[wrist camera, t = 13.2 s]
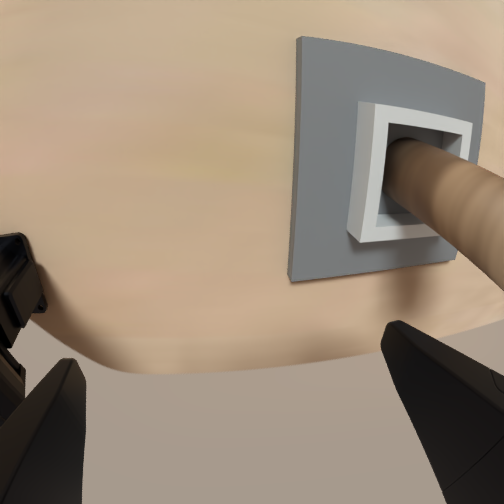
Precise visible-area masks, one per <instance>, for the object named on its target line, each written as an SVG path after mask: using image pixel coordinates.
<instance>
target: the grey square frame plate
mask: <svg viewBox="0 0 504 504" xmlns="http://www.w3.org/2000/svg"><path fill="white" fill-rule="evenodd" d="M484 100H485V83H484V82H482V81H480V80H477V79H475V78H472V77H469V76H467V75H464V74H462V73H459V72H456V71H453V70H451V69H448V68H445V67H442V66H439V65H436V64H433V63H429V62H426V61H423V60H420V59H416V58H413V57H409V56H405V55H402V54H398V53H394V52H390V51H386V50H381V49H377V48H372V47H368V46H363V45H358V44H352V43H347V42H341V41H335V40H328V39H321V38H313V37H305V36H301V37H299V38H297V39H296V106H295V139H294V165H293V188H292V208H291V226H290V242H289V258H288V273H287V274H288V276H289V278H290V280H291V282H294V281H302V280H311V279H319V278H327V277H335V276H343V275H351V274H359V273H366V272H374V271H381V270H388V269H395V268H403V267H409V266H416V265H423V264H430V263H436V262H443V261H449V260H455V258H456V255H457V251H458V250H457V249H456V248H455V247H453V246H452V245H451V244H450V243H449V242H447V241H446V240H445V239H444V238H442V237H441V236H440V235H439V234H437V233H436V232H435V231H434V230H432V229H431V228H430V227H429V226H427V225H426V224H425V223H423V222H422V221H421V220H420V219H418V218H417V217H416V216H414V215H413V214H412V213H410V212H409V211H408V210H406V209H405V208H403V207H402V206H401V205H399V204H398V203H397V202H395V201H394V200H392V199H391V198H390V197H388V196H387V195H386V194H385V193H384V192H383V190H382V189H381V188H382V181H383V173H384V164H385V155H386V148H387V147H388V146H389V145H390V144H391V143H392V142H394V141H395V140H397V139H399V138H403V137H410V138H414V139H417V140H419V141H422V142H425V143H427V144H430V145H432V146H435V147H437V148H440V149H442V150H444V151H447V152H449V153H451V154H454V155H456V156H458V157H461V158H463V159H465V160H467V161H469V162H472V163H474V164H476V165H477V162H478V156H479V149H480V141H481V133H482V124H483V113H484Z"/></svg>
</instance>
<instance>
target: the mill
mask: <svg viewBox="0 0 504 504" xmlns="http://www.w3.org/2000/svg"><path fill="white" fill-rule="evenodd" d="M381 189H382V190H383V192H384V193H385V194H386V195H387V196H388V197H390V198H391V199H392V200H394V201H395V202H397V203H398V204H399V205H401V206H402V207H403V208H405V209H406V210H408V211H409V212H410V213H412V214H413V215H414V216H416V217H417V218H418V219H420V220H421V221H422V222H423V223H425V224H426V225H427V226H429V227H430V228H431V229H432V230H434V231H435V232H436V233H437V234H439V235H440V236H441V237H442V238H444V239H445V240H446V241H447V242H449V243H450V244H451V245H452V246H453V247H455V248H456V249H457V250H458V251H459V252H461V253H462V254H463V255H464V256H465V257H467V258H468V259H469V260H470V261H471V262H472V263H473V264H475V265H476V266H477V267H478V268H479V269H480V270H481V271H483V272H484V273H485V274H486V275H487V276H488V277H489V278H490V279H491V280H492V281H493V282H495V283H496V284H497V285H498V286H499V287H500V288H501V289H502V290H503V291H504V178H502V177H500V176H498V175H496V174H494V173H492V172H490V171H488V170H486V169H484V168H482V167H480V166H478V165H476V164H474V163H472V162H469V161H467V160H465V159H463V158H461V157H458V156H456V155H454V154H451V153H449V152H447V151H444V150H442V149H440V148H437V147H435V146H432V145H430V144H427V143H425V142H422V141H419V140H417V139H414V138H410V137H403V138H399V139H397V140H395V141H394V142H392V143H391V144H390V145H389V146H388V147H387V148H386V155H385V164H384V173H383V181H382V188H381Z"/></svg>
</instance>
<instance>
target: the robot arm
mask: <svg viewBox="0 0 504 504" xmlns="http://www.w3.org/2000/svg"><path fill="white" fill-rule="evenodd" d="M17 238H18V239H19V240H20V242H18V240H17ZM40 305H41V306H43V307H41V306H40ZM47 307H48V305H47V302H46V299H45V297H44V294H43V289H42V286H41V283H40V280H39V277H38V274H37V271H36V268H35V265H34V263H33V261H32V259H31V256H30V252H29V249H28V246H27V242H26V239H25V236H24V235H23V234H22V233H19V232H18V233H11V234H4V235H0V504H82V478H83V461H84V447H85V435H86V380H85V377H84V375H83V373H82V371H81V369H80V367H79V365H78V363H77V361H76V360H75V359H73V358H63V359H61V360H59V362H58V363H57V364H56V365H55V366H54V367H53V368H52V369H51V370H50V371H49V373H47V375H46V376H45V377H44V378H43V379H42V380H41V381H40V382H39V383H38V385H37V386H36V387H35V388H34V389H33V390H32V391H31V392H30V394H29V395H28V396H27V397H26V398H25V377H26V376H25V375H26V370H25V368H24V367H23V366H22V365H21V364H19V363H18V362H17V361H16V360H15V358H14V357H13V356H12V355H11V354H10V352H9V351H8V350H7V348H12V346H13V344H14V342H15V340H16V338H17V335H18V333H19V331H20V329H21V328H24V327H25V326H26V324H27V322H28V320H29V318H30V316H31V314H32V313H45V312H46V310H47ZM381 350H382V353H383V355H384V358H385V361H386V363H387V366H388V369H389V371H390V374H391V377H392V380H393V382H394V385H395V387H396V390H397V392H398V394H399V396H400V398H401V401H402V403H403V404H404V407H405V409H406V411H407V413H408V415H409V417H410V420H411V422H412V423H413V426H414V428H415V430H416V433H417V435H418V437H419V439H420V441H421V443H422V446H423V448H424V450H425V453H426V455H427V457H428V459H429V462H430V464H431V466H432V469H433V471H434V473H435V476H436V478H437V481H438V483H439V485H440V488H441V490H442V493H443V496H444V498H445V501H446V503H447V504H504V376H503V375H501V374H499V373H497V372H495V371H494V370H491V369H489V368H488V367H486V366H484V365H483V364H481V363H479V362H477V361H475V360H473V359H472V358H470V357H468V356H466V355H464V354H462V353H460V352H459V351H457V350H455V349H453V348H451V347H449V346H448V345H445V344H444V343H442V342H440V341H438V340H436V339H434V338H433V337H431V336H429V335H427V334H425V333H423V332H421V331H420V330H418V329H416V328H414V327H412V326H410V325H408V324H406V323H405V322H403V321H401V320H397V321H392V322H389V323H388V324H387V325H386V328H385V331H384V334H383V337H382V340H381Z"/></svg>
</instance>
